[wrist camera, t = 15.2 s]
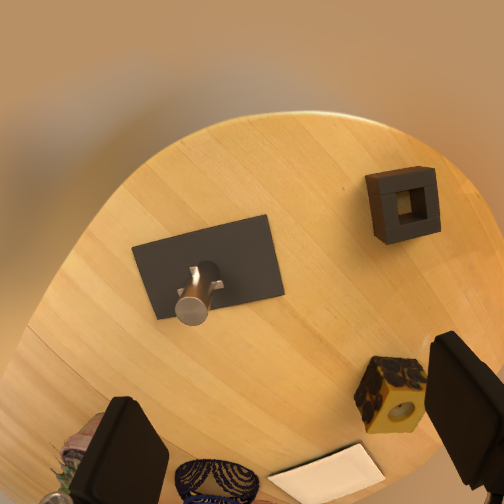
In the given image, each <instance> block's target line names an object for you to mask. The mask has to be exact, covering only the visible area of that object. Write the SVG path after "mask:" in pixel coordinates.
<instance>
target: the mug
mask: <svg viewBox="0 0 504 504" xmlns="http://www.w3.org/2000/svg"><path fill="white" fill-rule="evenodd" d="M239 502H240V503H241V504H242V503H245V502H242V501H239ZM246 502H247V501H246ZM228 504H231V503H228ZM251 504H275V503H272V502H268V501H260V500H253V502H252V503H251Z"/></svg>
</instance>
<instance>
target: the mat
mask: <svg viewBox="0 0 504 504" xmlns="http://www.w3.org/2000/svg"><path fill="white" fill-rule="evenodd" d="M132 251H133V254H134V257H135V260H136V263H137V266H138V269H139V272H140V275H141V277H142V280H143V283H144V286H145V288H146V291H147V294H148V296H149V299H150V302H151V304H152V307H153V310H154V312H155V315H156V317H157V320H159V319H165V318H171V317H176V316H177V315H176V313H175V307H176V304H177V302H178V300H179V298H180V297H179V294H178V291H177V289H180V288H185V286H186V284H187V282H188V280H189V278H190V276H191V271H190V267H192V266H196V265H197V264H198V263H199V262H201V261H211V262H213V263H214V264H215V265H216V266H217V267H218V269H219V277H218V280H222V281H223V284H224V288H219V289H215V291H214V294H213V298H212V301H211V305H210V307H211V309H209V310H214V309H219V308H224V307H229V306H234V305H239V304H244V303H248V302H253V301H258V300H263V299H267V298H272V297H277V296H281V295H284V290H283V285H282V281H281V277H280V272H279V268H278V263H277V259H276V255H275V250H274V246H273V241H272V237H271V233H270V229H269V224H268V220H267V216H266V214H265V215H261V216H256V217H252V218H248V219H243V220H239V221H235V222H231V223H227V224H222V225H218V226H214V227H210V228H206V229H202V230H198V231H194V232H190V233H186V234H182V235H178V236H174V237H170V238H166V239H162V240H158V241H154V242H150V243H147V244H143V245H139V246H135V247H132Z"/></svg>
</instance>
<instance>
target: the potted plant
mask: <svg viewBox="0 0 504 504" xmlns="http://www.w3.org/2000/svg"><path fill="white" fill-rule="evenodd" d="M103 415H104V413H99V414H96V415H95V416H94V417H93V418H92V419H91V420H90V421H89V422H88V423H87V424H86V425H85V426H84V427H83V428H82V429H81V430H80V431H79V432H78V433H77V434H75V435H73V436H71V437H69V439H68V440H67V442H66V443H64V444H65V445H64V446H63V448H62V449H61V451H60V452H59V451H58V450H57V449H56V448H55V447H54V446H53V447H54V448H55V449H56V450H57V451H58V452H59V453H60V454H61V458H62V460H63V462H64V463H65V465H63V464H62V463H60V462H59V461H58V462H59V463H60V464H61V468H62V470H63V474H58V473H55V472H54V471H53V472H54V473H55V474H56V477H57V479H58V481H59V483H60V486H61V488H60V489H59V490H58V492H64V493H66V494H67V495H69V494H70V491H69V490H68V488H69V485H70V483H71V481H72V479H73V477H74V475H75V473H76V470H77V468H78V466H79V464H80V462H81V460H82V458H83V456H84V454H85V452H86V449H87V447H88V445H89V443H90V441H91V439H92V437H93V435H94V433H95V431H96V429H97V427H98V425H99V423H100V421H101V419H102V417H103ZM55 458H56V457H55ZM45 463H46V462H45ZM52 470H53V469H52Z"/></svg>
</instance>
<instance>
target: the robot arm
mask: <svg viewBox="0 0 504 504" xmlns="http://www.w3.org/2000/svg"><path fill="white" fill-rule="evenodd" d="M424 406H425V410H426V412H427V414H428V416H429V418H430V419H431V421H432V423H433V425H434V427H435V429H436V431H437V432H438V434H439V436H440V438H441V440H442V442H443V444H444V446H445V447H446V450H447V452H448V453H449V455H450V457H451V459H452V461H453V463H454V465H455V467H456V469H457V471H458V473H459V476H460V477H461V479H462V482H463V483H464V484H465V485H470V487H471V489H472V490H475V489H476V488H478V487H480V486H482V485H484V486H485V488H486V490H487V492H488V494H487V497H486V500H485V503H484V504H504V384H503V383H502V382H501V381H500V380H499V378H498V377H497V376H496V375H495V374H494V372H493V371H492V370H491V369H490V368H489V367H488V366H487V365H486V364H485V363H484V362H482V361H481V360H480V359H479V358H478V357H477V356H476V355H475V354H474V352H473V351H472V350H471V349H470V348H469V347H468V346H467V345H466V344H465V343H464V342H463V340H462V339H461V338H460V337H459V336H458V335H457V334H456V333H455V332H454V331H449V332H446V333H443V334H441V335H438V336H436V337H435V340H434V342H432V343H431V345H430V355H429V366H428V376H427V384H426V392H425V399H424ZM168 461H169V452H168V449H167V448H166V446H165V445H164V443H163V442H162V440H161V439H160V437H159V436H158V434H157V433H156V431H155V429H154V428H153V426H152V425H151V423H150V421H149V420H148V418H147V417H146V415H145V413H144V412H143V410H142V408H141V407H140V405H139V403H138V402H137V401H136V400H133V398H131V397H129V396H124V397H114V398H112V400H111V402H110V404H109V406H108V407H107V409H106V411H105V413H104V415H103V417H102V419H101V421H100V423H99V425H98V427H97V429H96V431H95V433H94V435H93V437H92V439H91V441H90V443H89V445H88V447H87V449H86V452H85V454H84V456H83V458H82V460H81V462H80V464H79V466H78V468H77V470H76V473H75V475H74V477H73V479H72V481H71V483H70V485H69V488H68V490H69V491H70V494H69V495H67V494H66V493H64V492H52V493H49V494H48V495H46V496H45V497H44V498H43V499H42V500H41V501H40V503H39V504H158V501H159V497H160V493H161V489H162V485H163V481H164V477H165V473H166V469H167V465H168Z"/></svg>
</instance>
